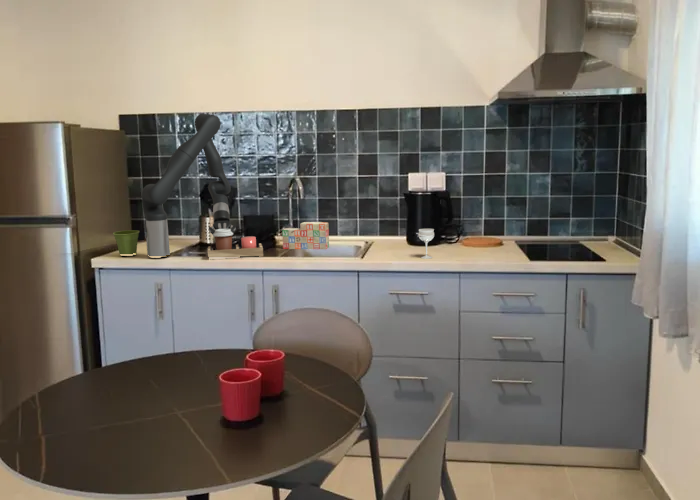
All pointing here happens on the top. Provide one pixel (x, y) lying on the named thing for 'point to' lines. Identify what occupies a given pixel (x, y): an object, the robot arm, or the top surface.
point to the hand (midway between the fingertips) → (223, 243)
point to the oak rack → (236, 252)
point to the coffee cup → (223, 239)
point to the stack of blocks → (307, 236)
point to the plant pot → (127, 241)
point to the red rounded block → (248, 242)
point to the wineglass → (426, 238)
